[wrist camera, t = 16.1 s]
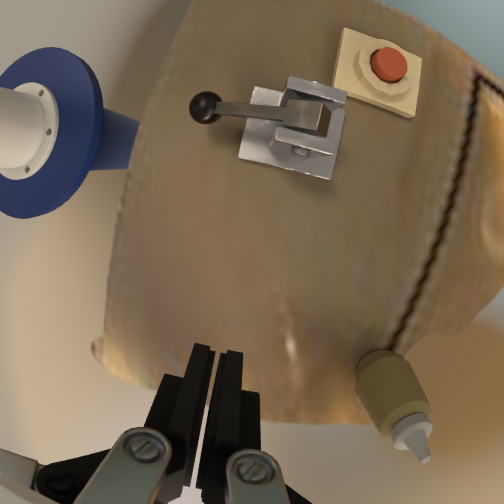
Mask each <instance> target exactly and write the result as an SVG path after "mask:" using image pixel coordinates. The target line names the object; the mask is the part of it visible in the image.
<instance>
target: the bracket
mask: <svg viewBox="0 0 504 504" xmlns="http://www.w3.org/2000/svg"><path fill="white" fill-rule="evenodd" d="M346 97H347V92H346V91H343V90H340V89H336V88H333V87H330V86H326V85H324V84H322V83H320V82H318V81H314V80H305V79H301V78H297V77H293V76H288V79H287V82H286V84H285V87H284V89H283V92H280V91H275V90H271V89H266V88H262V87H257V86H254V89H253V94H252V98H251V102H250V104H260V105H270V106H280V107H286V106H287V102H288V99H298V100H306V101H313V102H321V103H323V104H324V105H325V106H326V107H327V108H328V109H329V110H330V111H331V112H332V115H331V119H330V124H329V129H328V133H327V138H324V137H319V136H313V135H310V134H306V133H302V132H298V131H294V130H290V129H288V128H287V127H285V126H283V125H282V124H283V122H278V121H270V120H262V119H254V118H247V119H246V123H245V127H244V132H243V136H242V140H241V145H240V149H239V153H238V158H240V159H244V160H249V161H254V162H258V163H263V164H267V165H272V166H276V167H280V168H285V169H289V170H293V171H297V172H301V173H305V174H309V175H313V176H316V177H320V178H324V179H328V180H331V177H332V173H333V169H334V164H335V160H336V155H337V151H338V146H339V142H340V137H341V133H342V128H343V123H344V118H345V113H346V109H342V108H339V107H341V106H342V105H344V104H345V102H346Z"/></svg>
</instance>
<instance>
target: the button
mask: <svg viewBox="0 0 504 504" xmlns="http://www.w3.org/2000/svg"><path fill="white" fill-rule="evenodd" d="M371 65H372V69H373V71H374V72H375V74H376V75H377V76H378V77H379V78H381V79H382V80H385V81H388V82H392V81H396V80H397V79H399V78H401V77H403V76H404V75H405V74H406V72H407V68H408V66H407V61H406V59H405V57H404V56H403V55H402V54H401V53H400V52H399V51H398V50H396V49H394V48H391V47H384V48H382V49H380V50H379V51H378V52H377V53H376V54H375V55H374V56H373V57H372V60H371Z"/></svg>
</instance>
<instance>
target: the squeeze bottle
mask: <svg viewBox="0 0 504 504" xmlns="http://www.w3.org/2000/svg"><path fill="white" fill-rule="evenodd" d="M356 393H357V395H358V398H359V399H360V401H361V403H362V404H363V406H364V408H365V409H366V411H367V413H368V414H369V416H370V418H371V420H372V421H373V423H374V425H375V426H376V428H377V429H378V431H379V433H380V435H381V436H382V437H383V438H385V439H387V440H392V441H393V444H394V446H395V448H396V449H398V450H409V451H410V452H411V453H412V454H413V455H414V456H415V457H416V459H417V460H418V461H419V462H420V463H421V464H424V463H426V462H428V461H429V460H430V459H431V457H430V452H429V446H428V442H427V437H428V436H429V435H430V433H431V431H432V423H431V422H430V420H429V414H430V412H431V409H430V404H429V402H428V400H427V398H426V396H425V394H424V392H423V390H422V387H421V385H420V383H419V381H418V379H417V377H416V375H415V374H414V371H413V369H412V367H411V365H410V363H409V362H408V361H407V360H405V359H404V358H403V357H401V356H399V355H397V354H395V353H393V352H391V351H389V350H384V349H381V350H375V351H373V352H371V353H369V354H367V355H366V356H365V357H364V358H363V359H362V360H361V361H360V363H359V365H358V367H357V376H356Z"/></svg>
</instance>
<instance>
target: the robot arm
mask: <svg viewBox="0 0 504 504" xmlns="http://www.w3.org/2000/svg"><path fill="white" fill-rule="evenodd" d="M58 125H59V110H58V105H57V102H56V99H55V97H54V95H53V93H52V92H51V91H50V89H48V88H47V87H46V86H44V85H41V84H39V83H34V82H31V83H25V84H22V85H20V86H18V87H17V88H15V89H14V90H11V89H7V88H2V87H0V173H1V174H2V175H3V176H5V177H6V178H9V179H12V180H19V179H25V178H27V177H30V176H32V175H33V174H35V173H36V172H37V171H38V170H39V169H40V168H41V167H42V166H43V165H44V163H45V162H46V160H47V159H48V157H49V155H50V153H51V151H52V149H53V147H54V144H55V141H56V137H57V133H58ZM215 352H216V351H211V350H210V346H207V345H203V344H198V343H195V344H194V347H193V350H192V353H191V356H190V359H189V362H188V366H187V369H186V372H185V375H184V378H182V377H178V376H174V375H170V374H166V373H165V374H164V376H163V379H162V381H161V384H160V386H159V389H158V391H157V394H156V396H155V399H154V401H153V404H152V406H151V409H150V411H149V414H148V416H147V419H146V422H145V424H144V427H136V428H131V429H129V430H127V431H125V432H124V433H123V434H122V435H121V436H120V437H119V438H118V440H117V441H116V442H115V444H114V445H113V447H112V448H111V449H108V450H104V451H101V452H97V453H93V454H90V455H85V456H81V457H78V458H73V459H69V460H65V461H60V462H56V463H51V464H49V465H46V466H45V465H42V464H39V463H38V461H37V460H34V459H31V458H27V457H24V456H21V455H18V454H15V453H12V452H10V451H7V450H4V449H1V448H0V504H168V502H170V501H172V500H174V499H176V498H179V497H180V496H181V493H182V489H183V486H188V487H190V483H191V478H192V472H193V467H194V462H195V457H196V451H197V446H198V440H199V435H200V429H201V425H202V419H203V414H204V409H205V404H206V399H207V393H208V388H209V383H210V378H211V373H212V368H213V363H214V357H215ZM242 369H243V353H242V352H236V351H231V350H227V354H225V353H220V358H219V363H218V367H217V372H216V377H215V382H214V386H213V391H212V396H211V401H210V406H209V411H208V416H207V422H206V428H205V434H204V439H203V445H202V451H201V457H200V463H199V469H198V475H197V481H196V488H198V489H202V493H201V498H202V502H203V503H204V504H312V503H311V502H309V501H308V500H306V499H305V498H303V497H302V496H301V495H300V494H298V493H297V492H296V491H294V490H293V489H292V488H290V487H289V486H288V485H286V484H285V483H284V479H283V475H282V472H281V468H280V466H279V464H278V462H277V461H276V460H275V459H274V458H273V457H272V456H271V455H269V454H268V453H266V452H263V451H261V431H260V395H259V393H258V392H252V391H246V390H241V387H242Z"/></svg>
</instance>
